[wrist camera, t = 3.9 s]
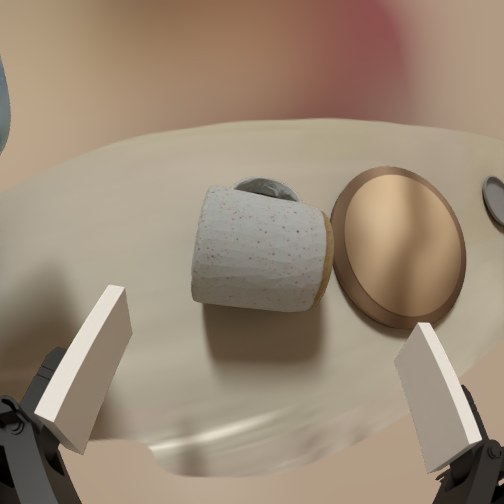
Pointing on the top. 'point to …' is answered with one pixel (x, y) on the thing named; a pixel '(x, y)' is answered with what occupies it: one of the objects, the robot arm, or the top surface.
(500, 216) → the pocket watch
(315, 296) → the ceramic mug
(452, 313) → the top surface
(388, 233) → the brown round plate
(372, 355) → the top surface
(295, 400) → the top surface
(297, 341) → the top surface
